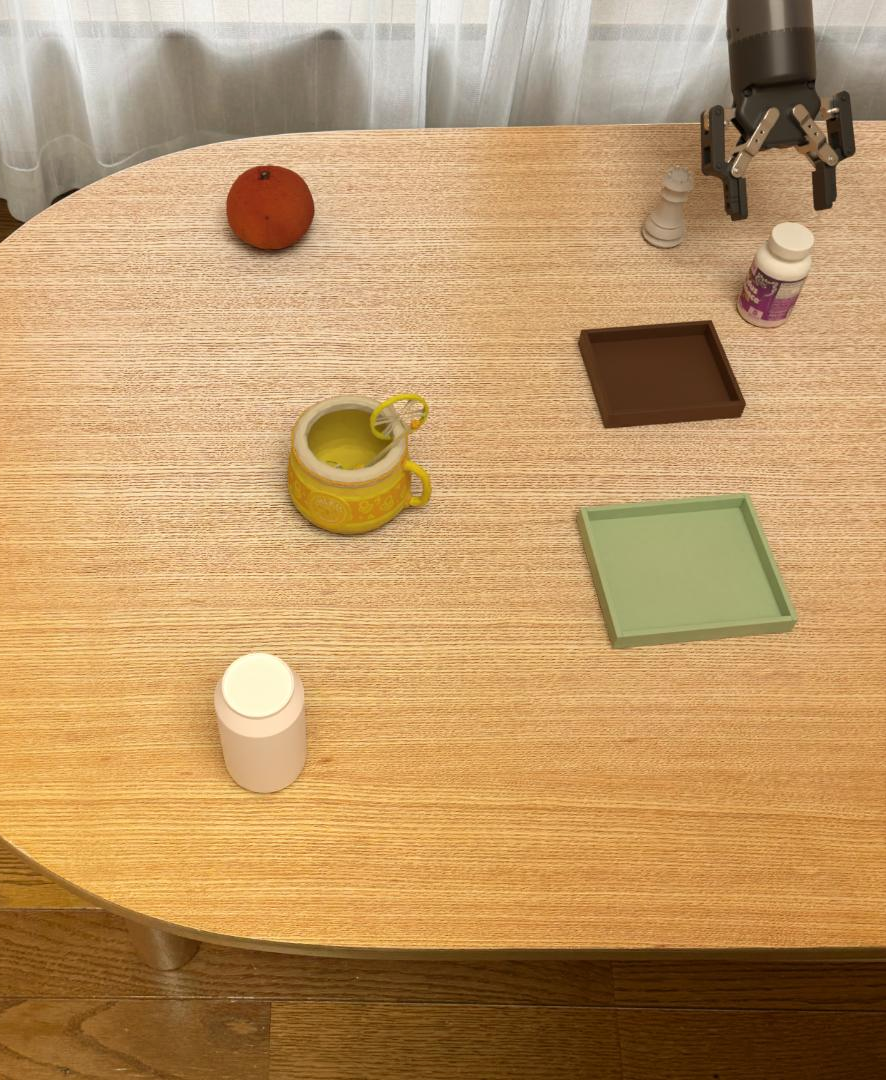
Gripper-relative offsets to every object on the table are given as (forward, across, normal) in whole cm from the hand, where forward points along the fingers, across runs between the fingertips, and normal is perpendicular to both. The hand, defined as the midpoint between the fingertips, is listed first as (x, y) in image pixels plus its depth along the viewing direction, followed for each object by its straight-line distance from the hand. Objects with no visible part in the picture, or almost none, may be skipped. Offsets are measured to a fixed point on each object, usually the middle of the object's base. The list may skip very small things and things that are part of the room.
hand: (781, 215), depth 111 cm
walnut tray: (+14, -14, 0) cm, 19 cm away
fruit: (-5, -46, +19) cm, 51 cm away
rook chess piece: (0, -6, +14) cm, 15 cm away
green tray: (+29, -20, -15) cm, 38 cm away
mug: (+20, -44, -6) cm, 49 cm away
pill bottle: (+9, 0, +5) cm, 10 cm away
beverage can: (+36, -56, -22) cm, 71 cm away
